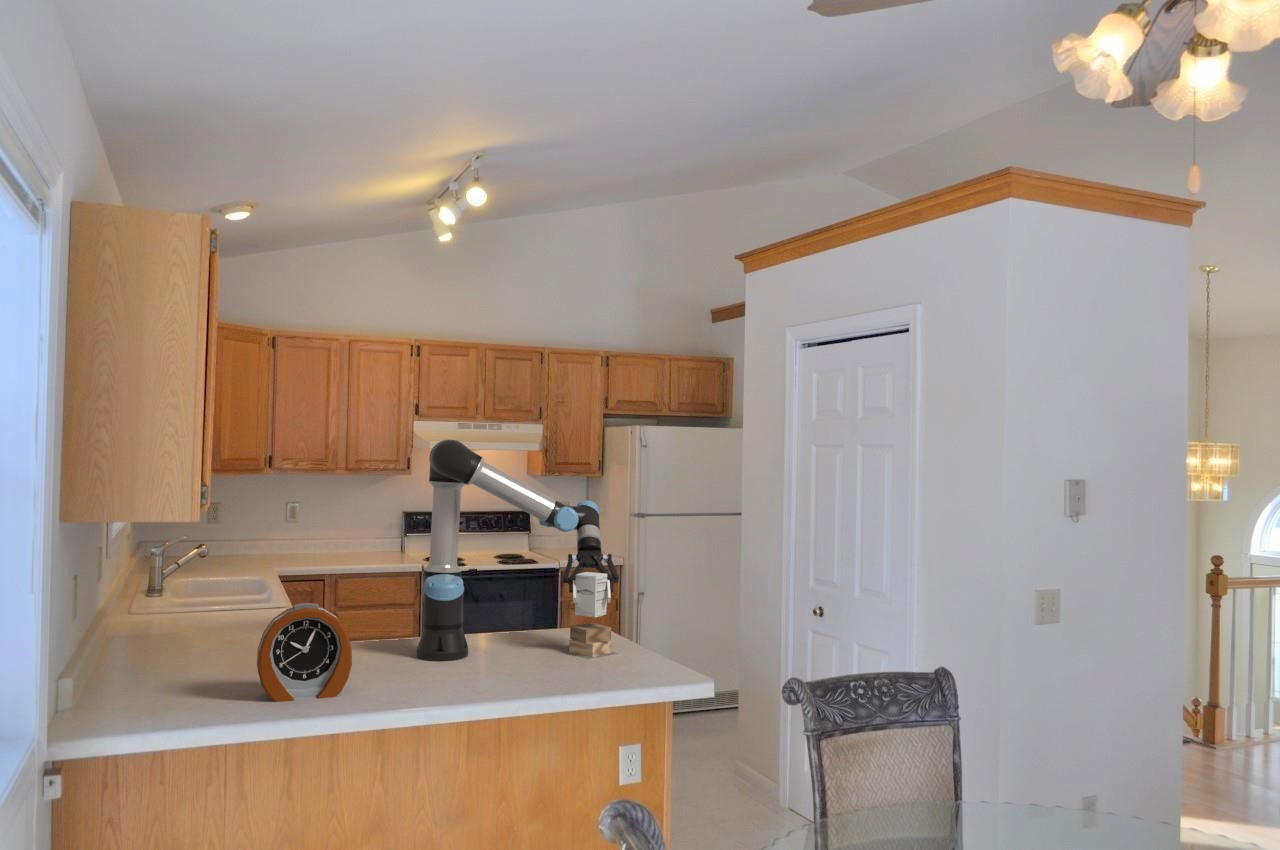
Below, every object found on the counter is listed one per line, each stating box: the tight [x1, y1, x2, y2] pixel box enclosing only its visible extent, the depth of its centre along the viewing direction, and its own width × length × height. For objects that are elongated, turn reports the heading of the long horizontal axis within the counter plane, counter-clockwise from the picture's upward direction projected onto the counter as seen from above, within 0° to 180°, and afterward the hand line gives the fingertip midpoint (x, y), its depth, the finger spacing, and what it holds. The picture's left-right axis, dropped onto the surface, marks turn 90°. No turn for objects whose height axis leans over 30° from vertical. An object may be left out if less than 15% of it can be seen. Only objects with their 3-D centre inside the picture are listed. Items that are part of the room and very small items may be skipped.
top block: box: [569, 622, 612, 644], centre depth 294 cm, size 9×9×4 cm
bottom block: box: [568, 639, 612, 657], centre depth 294 cm, size 9×9×4 cm
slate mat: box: [562, 651, 619, 660], centre depth 294 cm, size 12×12×1 cm
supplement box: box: [574, 571, 608, 618], centre depth 294 cm, size 7×7×13 cm
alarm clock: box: [256, 602, 353, 703], centre depth 242 cm, size 22×10×23 cm, turn 114°
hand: (591, 600), depth 291 cm, fingers closed on supplement box, 10 cm apart
